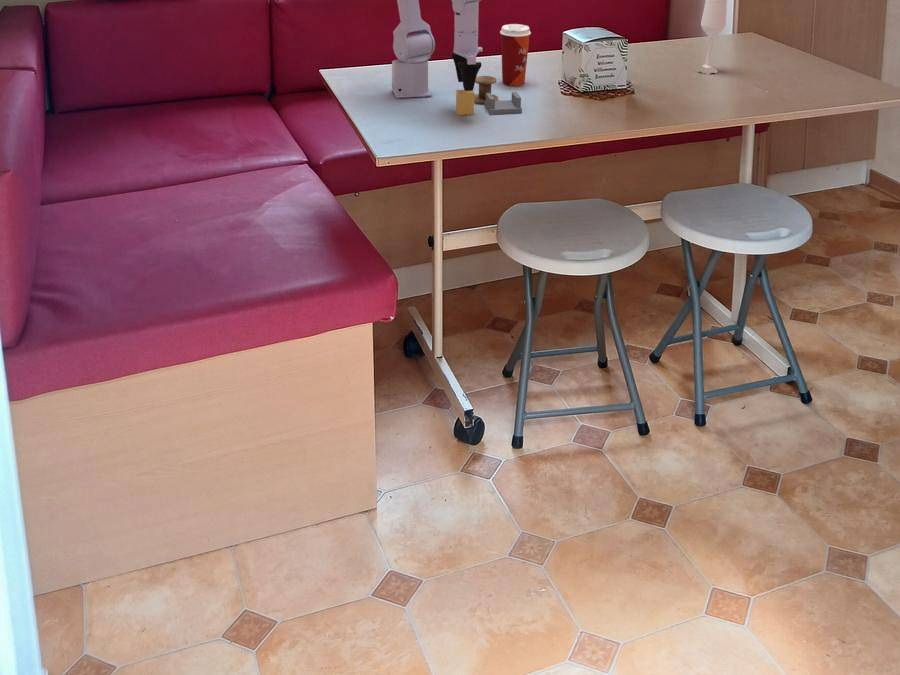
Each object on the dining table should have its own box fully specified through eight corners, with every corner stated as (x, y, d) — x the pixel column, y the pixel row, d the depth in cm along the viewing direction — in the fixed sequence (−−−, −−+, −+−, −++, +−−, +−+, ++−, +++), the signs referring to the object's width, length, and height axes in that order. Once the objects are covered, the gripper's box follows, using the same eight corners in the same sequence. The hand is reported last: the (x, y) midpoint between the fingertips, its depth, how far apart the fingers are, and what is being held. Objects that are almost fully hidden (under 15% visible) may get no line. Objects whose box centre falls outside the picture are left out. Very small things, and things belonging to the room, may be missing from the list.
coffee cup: (526, 88, 278) (528, 31, 270) (496, 86, 279) (497, 30, 272) (530, 79, 285) (533, 24, 278) (500, 77, 286) (502, 22, 279)
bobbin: (474, 105, 265) (474, 83, 262) (468, 97, 271) (469, 75, 268) (500, 103, 266) (501, 82, 263) (494, 95, 272) (495, 74, 269)
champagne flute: (695, 73, 292) (706, -15, 279) (694, 67, 297) (705, -20, 285) (719, 75, 291) (732, -14, 279) (718, 68, 296) (730, -19, 284)
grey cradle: (490, 114, 259) (490, 100, 257) (484, 106, 265) (484, 92, 263) (521, 113, 260) (522, 99, 258) (515, 104, 266) (515, 90, 264)
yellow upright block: (458, 115, 258) (458, 93, 255) (455, 111, 261) (456, 89, 258) (473, 114, 259) (474, 92, 256) (471, 110, 261) (471, 89, 259)
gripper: (488, 37, 244) (487, 93, 251) (476, 22, 256) (475, 77, 263) (459, 38, 243) (458, 95, 250) (448, 23, 255) (448, 78, 262)
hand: (465, 86), depth 256 cm, fingers open, 7 cm apart
